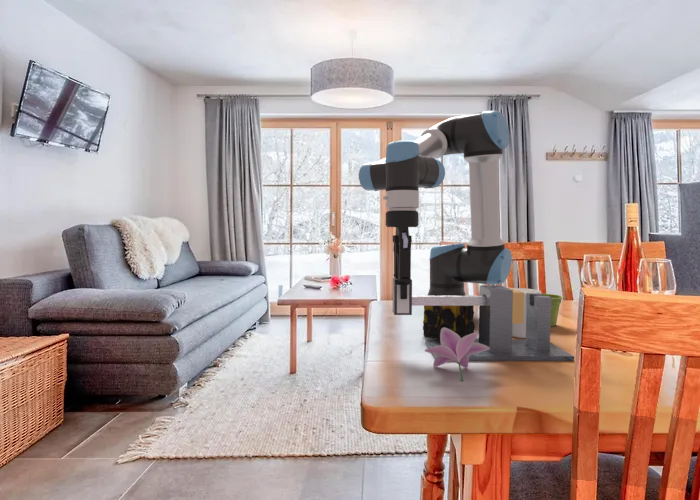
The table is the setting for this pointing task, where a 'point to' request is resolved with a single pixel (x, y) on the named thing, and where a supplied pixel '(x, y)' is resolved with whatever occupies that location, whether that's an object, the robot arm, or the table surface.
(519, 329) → the candle holder
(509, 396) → the table surface
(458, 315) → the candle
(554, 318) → the plant pot
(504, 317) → the shaft stand
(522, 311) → the tan rectangular block
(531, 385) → the table surface
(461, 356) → the lily
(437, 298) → the shaft
